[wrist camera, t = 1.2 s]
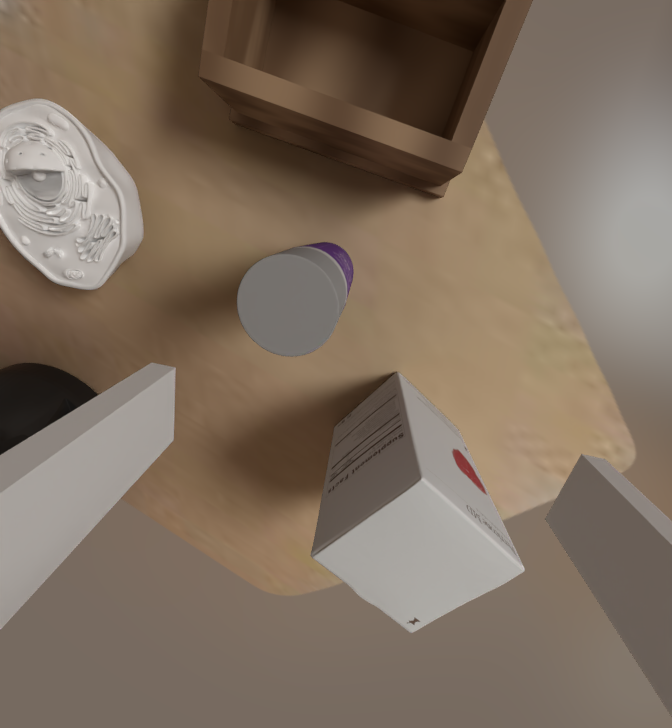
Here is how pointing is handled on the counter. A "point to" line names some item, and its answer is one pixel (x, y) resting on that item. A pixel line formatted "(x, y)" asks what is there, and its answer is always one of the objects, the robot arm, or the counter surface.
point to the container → (295, 298)
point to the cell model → (65, 196)
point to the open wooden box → (364, 77)
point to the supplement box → (409, 511)
